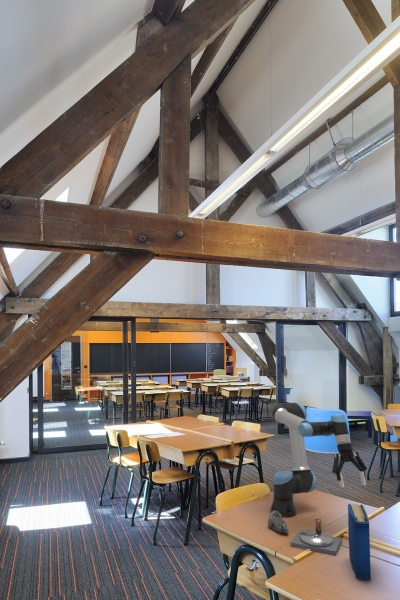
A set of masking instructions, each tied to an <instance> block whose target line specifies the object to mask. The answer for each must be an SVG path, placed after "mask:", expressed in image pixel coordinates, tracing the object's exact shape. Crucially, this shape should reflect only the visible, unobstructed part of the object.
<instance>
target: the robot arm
mask: <svg viewBox="0 0 400 600" xmlns="http://www.w3.org/2000/svg"><path fill="white" fill-rule="evenodd" d="M307 414H308V413H307V410H306V408H305V406H304V405H303V404H302V403H301V402H285V403H283V402H282V403H281V402H280V403H277V404H274V406H273V407H272V408H271V411H270V415H271V418H272V420H273V421H275V422H276V423H278V424H283V425H285V426H286V427H288V432H289V441H290V449H291V455H292V465H293V467H292V468H291V471H290V470H280V471H277V472H275V473H274V475H273V479H272V484H273V499H272V503H271V507H270V514H271V513H272V511H278V512H279V513H280V514H281V515H282V518H291V517H295V516H296V515H297V509H296V508H297V507H296V505H295V501H294V495H295V494H296V495H297V494H304V493H305V494H308V493H311V492H314V490H315V488H316V486H317V477H316V475H315V473H314V472H313V471H312V470H311V468H310V467H309V466H308V459H307V452H306V446H305V445H306V444H305V438H309V437H311V438H312V437H330V436H333V435H334V439H335V443H336V444H337V445H336V448H337V451H338V453H334V454H333V457H334V458H333V465H332V470H331V472H332V474H335V476H336V480H337V482H338V483H339V487H340V489H342V488H345V484H344V478H343V474H342V473H341V471H342V469H343V467H344V464H345V463H351V464H352V465H354V467H356V468H357V470H358V471H359V472H358V475H359V478H360V483H361V486H367V482H366V473H365V472H366V470H368V467H367V466H366V464H365V463H364V461H363V459H362V458H361V457H360V455H359V452H358V451H354V452H353V446H352V443H351V437H350V434H349V428H348V423H347V420H346V417H345V414H343V413H335V414H331V416H330V420H328V421H309V420H307V417H308V415H307Z"/></svg>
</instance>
